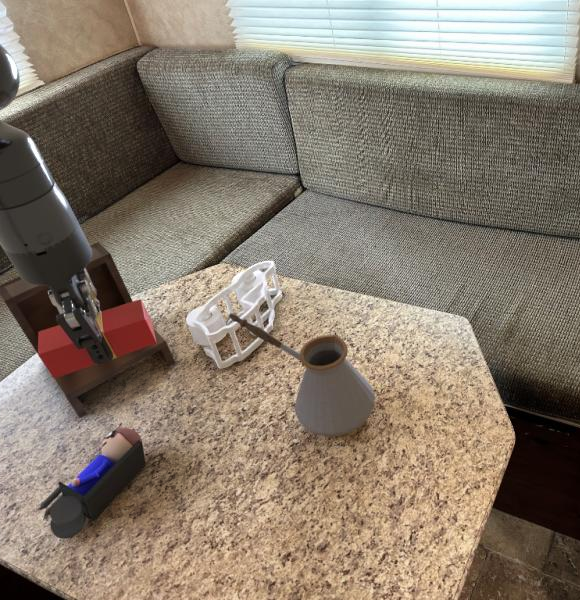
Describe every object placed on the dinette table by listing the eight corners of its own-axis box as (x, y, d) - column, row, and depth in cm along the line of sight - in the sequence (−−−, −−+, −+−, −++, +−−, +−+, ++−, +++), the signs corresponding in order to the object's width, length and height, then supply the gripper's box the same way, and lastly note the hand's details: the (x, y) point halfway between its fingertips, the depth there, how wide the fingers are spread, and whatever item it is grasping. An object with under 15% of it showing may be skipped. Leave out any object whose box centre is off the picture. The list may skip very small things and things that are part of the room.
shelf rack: (79, 418, 92) (26, 335, 81) (45, 366, 102) (-6, 287, 91) (175, 362, 100) (139, 280, 89) (135, 319, 110) (98, 241, 99)
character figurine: (47, 534, 77) (135, 447, 87) (83, 555, 74) (171, 461, 84) (15, 498, 73) (112, 409, 83) (52, 518, 69) (149, 423, 79)
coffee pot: (390, 398, 90) (379, 322, 80) (352, 457, 82) (336, 381, 73) (273, 361, 98) (251, 288, 89) (229, 412, 90) (199, 338, 81)
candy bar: (53, 379, 71) (37, 354, 69) (53, 355, 75) (38, 330, 72) (157, 344, 75) (145, 319, 72) (152, 322, 78) (141, 298, 75)
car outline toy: (259, 285, 114) (250, 253, 110) (305, 301, 110) (298, 268, 105) (181, 353, 102) (167, 320, 97) (230, 373, 97) (218, 340, 92)
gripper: (3, 210, 68) (69, 323, 78) (-5, 277, 57) (72, 397, 68) (74, 191, 70) (129, 304, 80) (78, 252, 59) (141, 373, 70)
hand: (103, 346), depth 74 cm, fingers closed on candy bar, 4 cm apart
